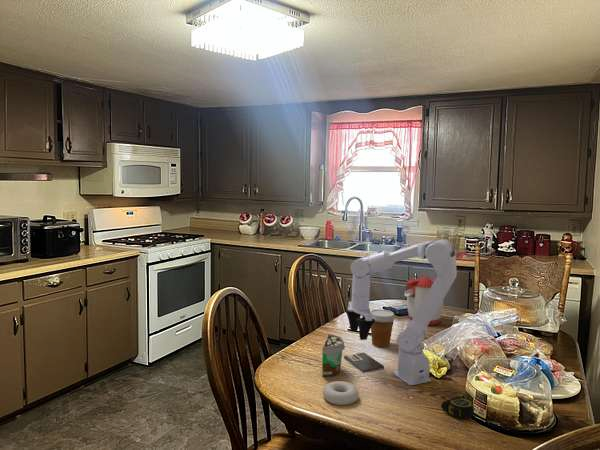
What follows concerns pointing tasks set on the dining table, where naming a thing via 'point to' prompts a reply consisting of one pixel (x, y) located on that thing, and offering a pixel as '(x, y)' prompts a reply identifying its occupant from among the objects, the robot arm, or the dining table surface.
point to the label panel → (363, 362)
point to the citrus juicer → (420, 297)
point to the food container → (332, 356)
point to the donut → (340, 393)
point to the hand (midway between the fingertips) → (358, 335)
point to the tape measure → (459, 407)
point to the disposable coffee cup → (382, 327)
